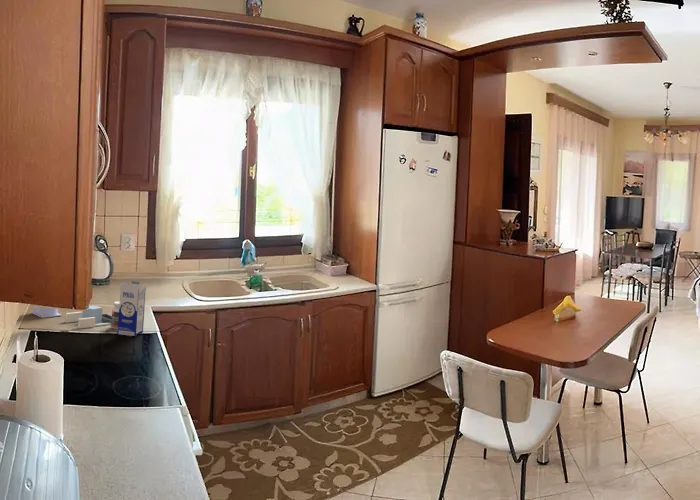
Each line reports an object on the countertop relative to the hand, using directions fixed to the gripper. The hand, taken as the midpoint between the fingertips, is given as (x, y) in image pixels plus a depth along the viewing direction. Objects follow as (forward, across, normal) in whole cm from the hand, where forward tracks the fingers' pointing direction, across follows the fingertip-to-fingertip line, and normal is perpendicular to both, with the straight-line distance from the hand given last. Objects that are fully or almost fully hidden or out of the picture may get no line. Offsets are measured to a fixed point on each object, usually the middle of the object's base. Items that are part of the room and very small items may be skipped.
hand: (64, 298), depth 222 cm
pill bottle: (+10, +15, -14) cm, 23 cm away
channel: (+10, +8, -3) cm, 13 cm away
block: (+10, +10, -2) cm, 14 cm away
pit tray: (+10, +16, -3) cm, 19 cm away
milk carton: (+10, +14, -24) cm, 30 cm away
